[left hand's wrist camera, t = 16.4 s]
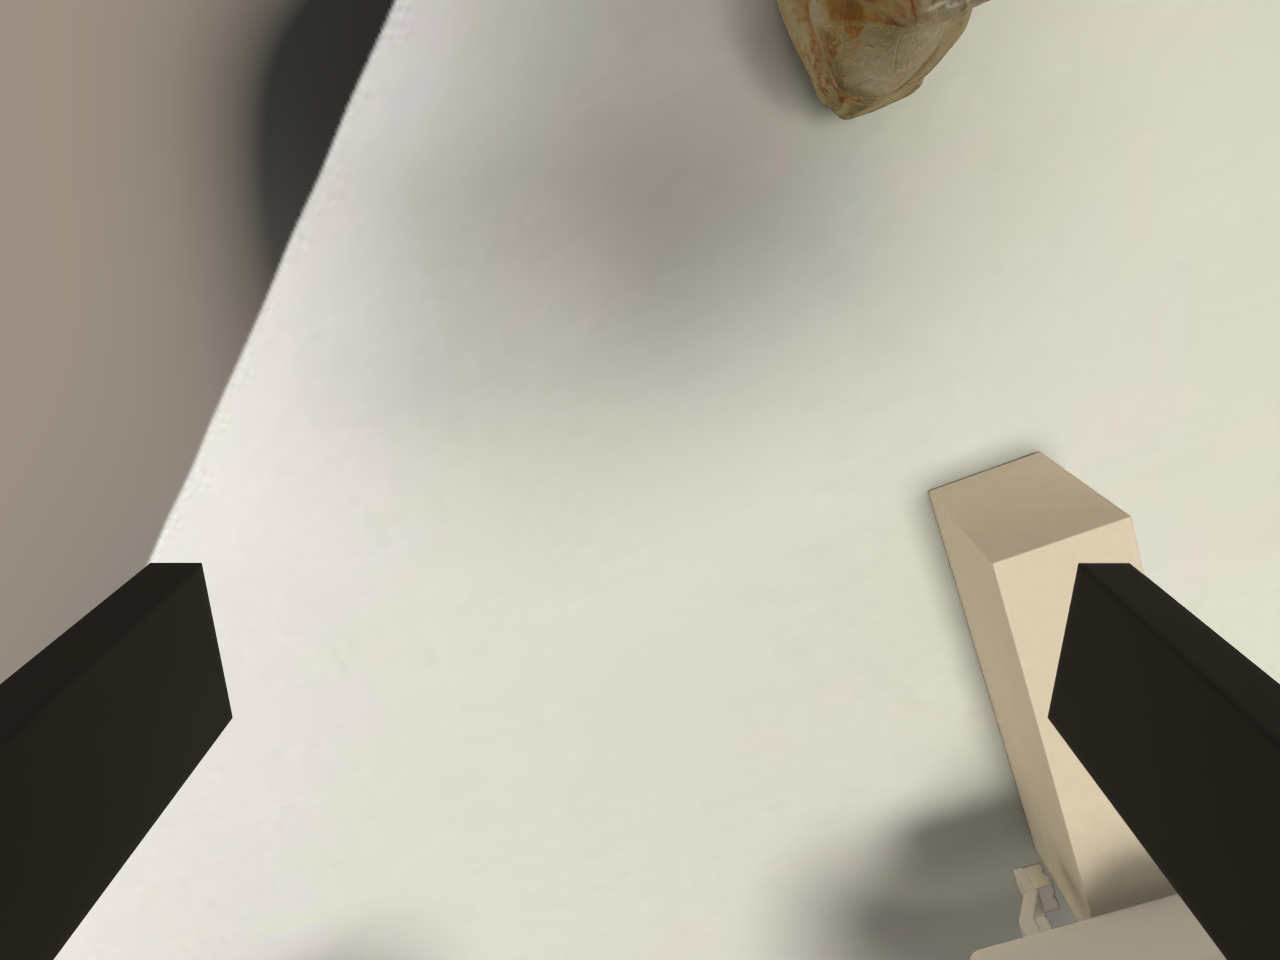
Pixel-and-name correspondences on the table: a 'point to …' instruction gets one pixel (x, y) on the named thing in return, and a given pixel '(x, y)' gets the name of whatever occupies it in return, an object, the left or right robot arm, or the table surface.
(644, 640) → the table surface
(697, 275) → the table surface
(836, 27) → the sculpture
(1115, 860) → the bar
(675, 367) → the table surface
